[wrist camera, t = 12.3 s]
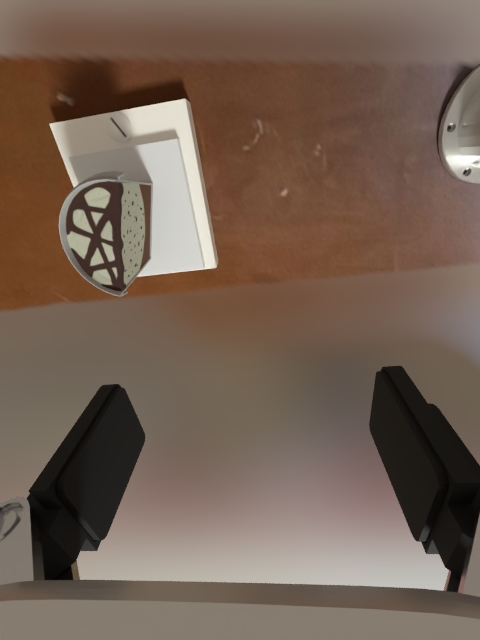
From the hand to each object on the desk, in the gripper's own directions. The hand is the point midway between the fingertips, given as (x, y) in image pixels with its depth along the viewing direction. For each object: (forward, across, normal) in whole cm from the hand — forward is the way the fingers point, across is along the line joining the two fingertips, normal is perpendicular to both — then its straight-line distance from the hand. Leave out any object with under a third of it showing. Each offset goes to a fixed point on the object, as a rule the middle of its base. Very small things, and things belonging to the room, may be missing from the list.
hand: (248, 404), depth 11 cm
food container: (+29, +16, -4) cm, 33 cm away
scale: (+32, +14, -5) cm, 36 cm away
